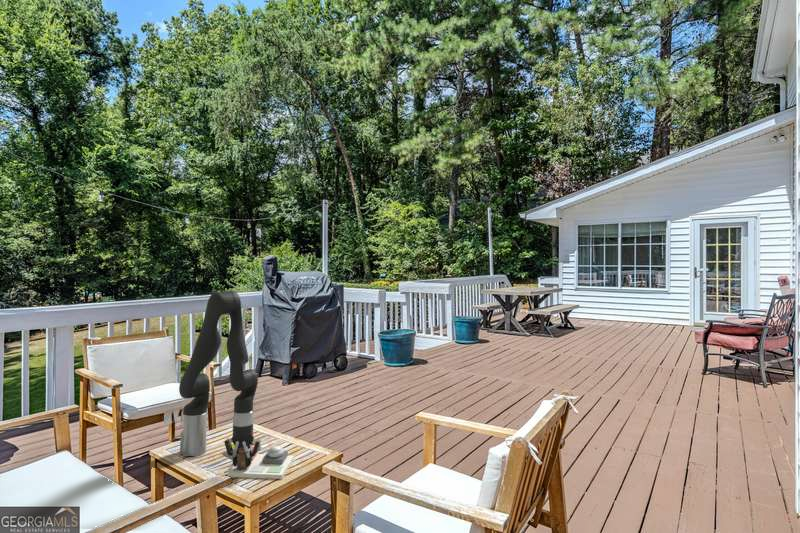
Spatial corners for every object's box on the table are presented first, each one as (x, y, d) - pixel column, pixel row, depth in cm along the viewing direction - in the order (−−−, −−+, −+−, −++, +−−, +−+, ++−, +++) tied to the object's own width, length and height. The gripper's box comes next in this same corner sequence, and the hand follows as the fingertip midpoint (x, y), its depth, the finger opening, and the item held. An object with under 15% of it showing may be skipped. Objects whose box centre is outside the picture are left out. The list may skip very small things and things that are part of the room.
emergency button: (264, 440, 193) (233, 450, 181) (264, 450, 193) (233, 461, 181) (252, 434, 199) (221, 444, 187) (252, 444, 199) (221, 454, 187)
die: (241, 460, 178) (241, 449, 178) (245, 455, 182) (246, 444, 182) (252, 460, 178) (252, 449, 178) (256, 456, 182) (256, 445, 182)
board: (227, 476, 167) (227, 467, 167) (244, 457, 184) (244, 448, 184) (282, 478, 166) (282, 469, 166) (293, 459, 184) (294, 450, 183)
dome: (265, 461, 176) (265, 450, 176) (270, 454, 182) (270, 444, 182) (280, 462, 176) (281, 451, 176) (285, 455, 182) (285, 444, 182)
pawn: (235, 469, 169) (236, 446, 169) (239, 465, 173) (240, 443, 173) (244, 470, 169) (245, 447, 169) (248, 465, 173) (249, 443, 173)
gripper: (220, 425, 167) (219, 469, 167) (258, 426, 167) (256, 471, 167) (229, 418, 175) (227, 461, 175) (264, 419, 174) (263, 462, 174)
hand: (242, 465), depth 171 cm, fingers open, 4 cm apart
